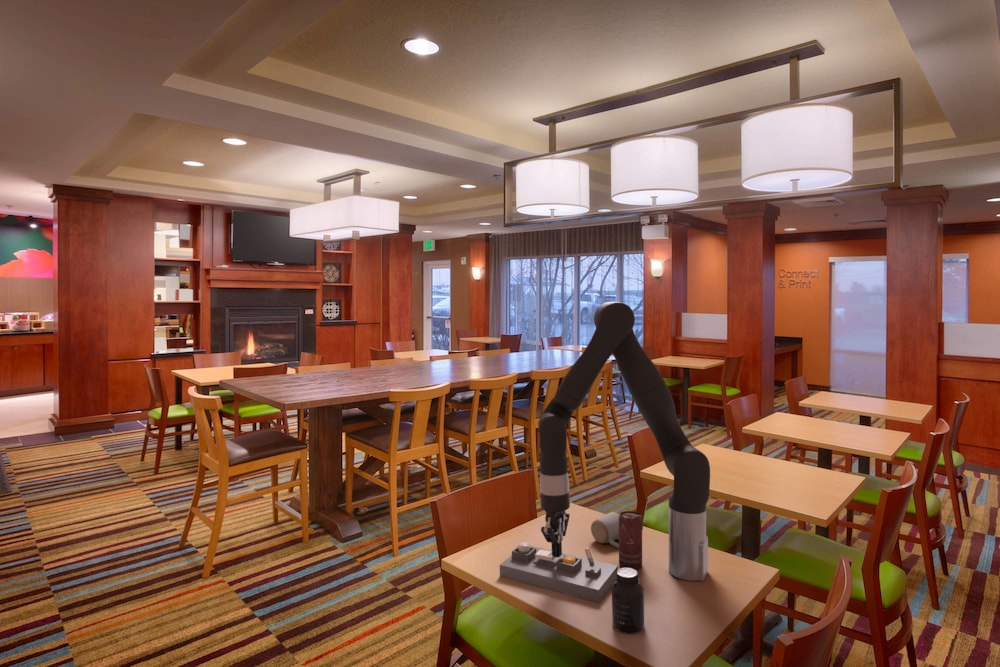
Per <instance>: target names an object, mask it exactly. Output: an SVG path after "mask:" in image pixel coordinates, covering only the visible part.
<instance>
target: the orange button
mask: <svg viewBox="0 0 1000 667" xmlns="http://www.w3.org/2000/svg"><path fill="white" fill-rule="evenodd" d="M572 556H573V555H572ZM572 556H565V557H563V563H567V564H571V565H574V564H575V558H574V557H572Z"/></svg>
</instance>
